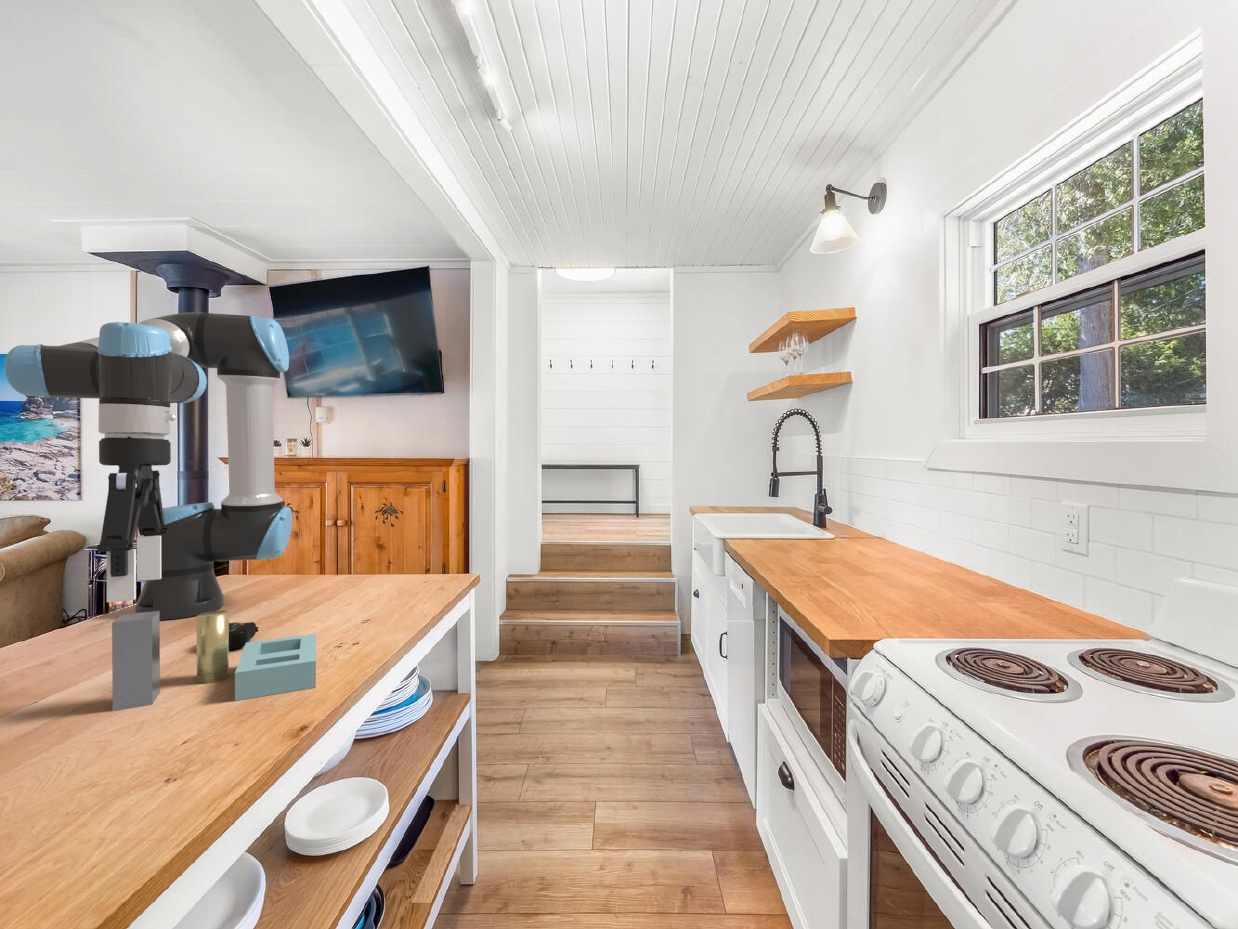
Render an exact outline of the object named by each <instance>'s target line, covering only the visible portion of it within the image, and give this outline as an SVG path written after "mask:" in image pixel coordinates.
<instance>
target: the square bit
mask: <svg viewBox="0 0 1238 929" xmlns="http://www.w3.org/2000/svg"><path fill="white" fill-rule="evenodd" d="M160 621H161V620H160V619H159V611H153V612H143V613H135V612H134V613H133V612H132V613H125V614H121V615H119V616H118V617H117V618H116V619H114V620H113V621H112V622H111V642H112V643H111V649H112V650H111V652H112V654H111V659H112V660H111V665H112V669H111V670H112V674H111V676H112V677H111V678H112V685H111V686H112V711H113V712H114V711H120V710H125V709H133V708H139V707H145V706H153V704H154V703H155V701H156V699H158V696H159V695H160V693H161V672H160V671H161V670H160V669H161V662H160V661H161V660H160V658H161V657H160V656H161V655H160V654H161V652H160V650H161V646H160V645H161V644H160V643H161V642H160V641H161V639H160V635H161V634H160V633H161V632H160V627H161V626H160Z"/></svg>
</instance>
